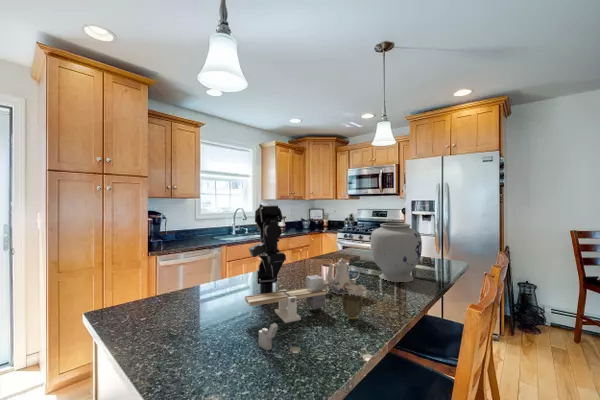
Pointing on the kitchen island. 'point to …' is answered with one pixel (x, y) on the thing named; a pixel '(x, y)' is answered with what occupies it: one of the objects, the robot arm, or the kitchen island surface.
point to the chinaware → (343, 280)
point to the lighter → (267, 336)
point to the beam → (313, 298)
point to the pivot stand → (288, 309)
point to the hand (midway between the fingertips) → (270, 275)
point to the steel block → (314, 283)
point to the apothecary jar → (396, 251)
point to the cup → (352, 305)
